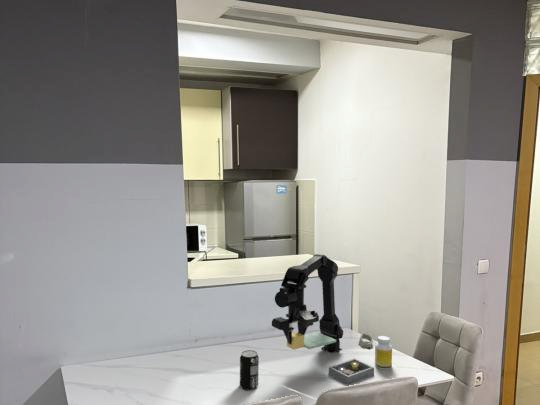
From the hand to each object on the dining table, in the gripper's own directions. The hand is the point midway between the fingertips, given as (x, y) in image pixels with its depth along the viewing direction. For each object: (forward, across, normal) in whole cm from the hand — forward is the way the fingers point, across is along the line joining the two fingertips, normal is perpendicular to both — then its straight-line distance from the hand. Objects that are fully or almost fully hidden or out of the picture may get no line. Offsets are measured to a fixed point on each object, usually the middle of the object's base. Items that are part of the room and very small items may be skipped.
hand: (295, 342), depth 155 cm
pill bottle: (+13, +34, -14) cm, 39 cm away
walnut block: (+12, +14, -14) cm, 23 cm away
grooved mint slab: (+2, +7, 0) cm, 7 cm away
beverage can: (+13, -19, +2) cm, 23 cm away
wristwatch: (+13, +46, +6) cm, 48 cm away
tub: (+12, +18, -12) cm, 25 cm away
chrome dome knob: (+12, +15, -10) cm, 22 cm away
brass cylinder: (+12, +22, -10) cm, 27 cm away
